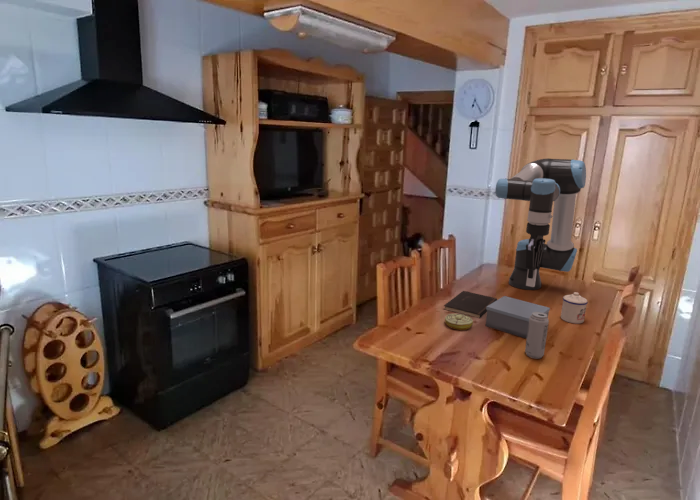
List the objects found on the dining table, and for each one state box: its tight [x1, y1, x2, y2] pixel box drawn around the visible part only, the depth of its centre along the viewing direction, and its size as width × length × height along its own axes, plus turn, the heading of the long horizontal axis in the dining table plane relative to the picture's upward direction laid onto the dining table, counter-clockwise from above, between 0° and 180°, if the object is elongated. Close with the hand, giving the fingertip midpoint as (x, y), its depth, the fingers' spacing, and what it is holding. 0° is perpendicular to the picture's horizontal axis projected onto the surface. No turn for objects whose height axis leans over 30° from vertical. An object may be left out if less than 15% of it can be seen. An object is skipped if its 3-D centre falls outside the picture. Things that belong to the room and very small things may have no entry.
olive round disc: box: [444, 313, 474, 331], centre depth 177 cm, size 10×11×4 cm
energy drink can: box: [524, 312, 550, 360], centre depth 153 cm, size 6×6×15 cm
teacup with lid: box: [560, 291, 588, 324], centre depth 186 cm, size 12×9×12 cm
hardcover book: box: [443, 290, 498, 319], centre depth 198 cm, size 16×23×2 cm
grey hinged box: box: [485, 310, 550, 340], centre depth 177 cm, size 16×18×7 cm
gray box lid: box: [486, 295, 551, 322], centre depth 176 cm, size 16×18×1 cm
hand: (530, 285), depth 166 cm, fingers closed
